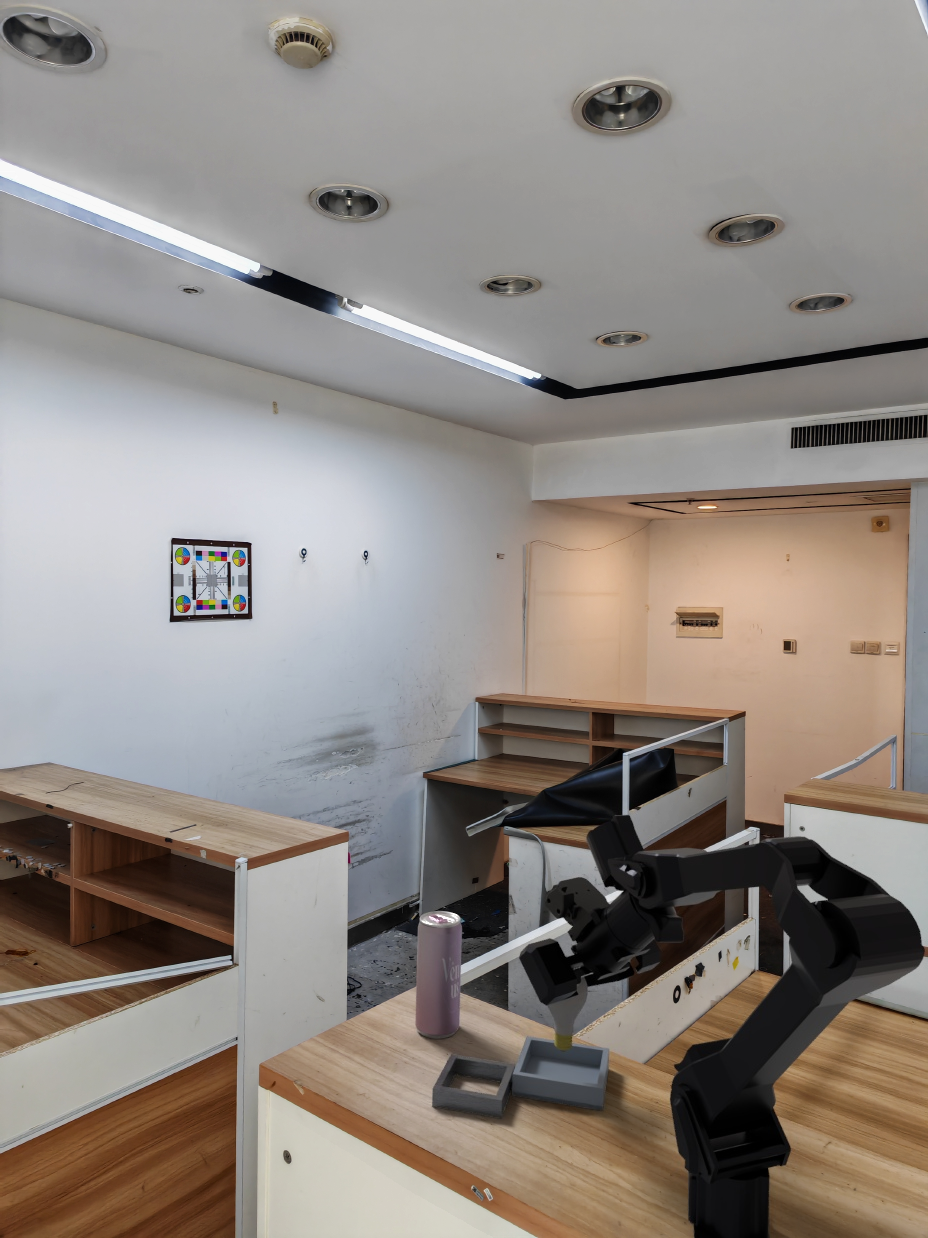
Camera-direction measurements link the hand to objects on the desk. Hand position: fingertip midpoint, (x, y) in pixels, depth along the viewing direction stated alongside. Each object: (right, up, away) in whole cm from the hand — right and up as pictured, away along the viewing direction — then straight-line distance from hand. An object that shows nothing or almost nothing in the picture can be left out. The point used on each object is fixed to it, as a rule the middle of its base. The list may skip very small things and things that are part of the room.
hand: (556, 990), depth 99 cm
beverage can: (-15, -11, +11) cm, 21 cm away
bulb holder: (-10, -10, -4) cm, 15 cm away
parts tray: (0, -10, -1) cm, 11 cm away
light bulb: (+1, -7, -1) cm, 7 cm away
